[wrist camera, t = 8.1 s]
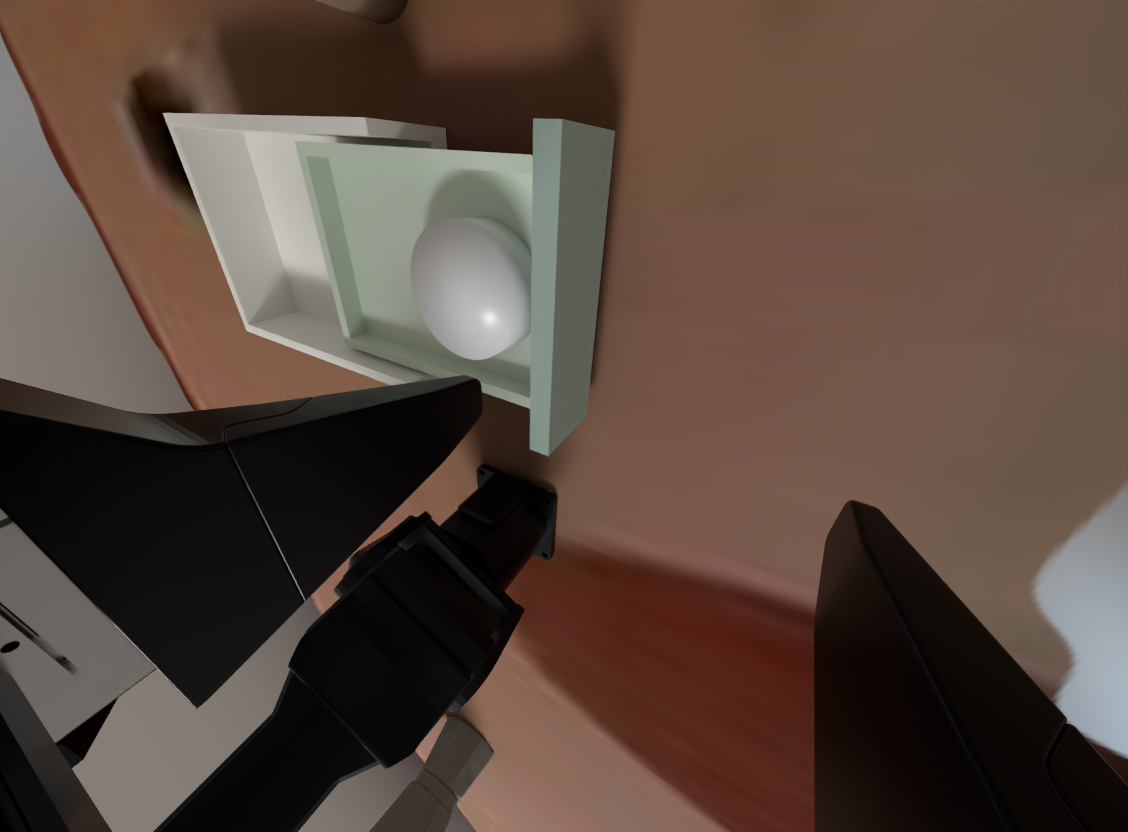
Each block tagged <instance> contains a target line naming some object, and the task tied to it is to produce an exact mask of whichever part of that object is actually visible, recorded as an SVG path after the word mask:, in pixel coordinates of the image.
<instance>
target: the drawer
mask: <svg viewBox="0 0 1128 832" xmlns="http://www.w3.org/2000/svg"><path fill="white" fill-rule="evenodd" d="M614 138H615V131H613V130H609V129H605V128H600V127H596V126H591V125H587V124H582V123H578V122H574V121H569V120H565V119H539V118H533V155H528V154H511V153H494V152H477V151H460V150H443V149H427V148H410V147H393V146H376V145H359V144H342V143H325V142H308V141H295V145H296V149H297V153H298V157H299V161H300V165H301V169H302V173H303V177H304V181H305V184H306V188H307V192H308V196H309V200H310V204H311V208H312V212H313V216H314V220H315V224H316V228H317V232H318V236H319V240H320V244H321V248H322V252H323V256H324V260H325V264H326V268H327V272H328V276H329V280H330V284H331V288H332V292H333V296H334V300H335V304H336V308H337V312H338V316H339V320H340V324H341V327H342V331H343V335H344V339H345V343H346V346H349V347H352V348H355V349H358V350H361V351H364V352H367V353H369V354H372V355H375V356H378V357H381V358H384V359H387V360H390V361H393V362H396V363H399V364H401V365H404V366H407V367H410V368H413V369H416V370H419V371H422V372H425V373H428V374H431V375H433V376H436V377H439V378H446V377H453V376H460V375H467V376H470V377H474V378H477V379H478V380H479V381H480V383H481V386H482V392H483V393H486V394H489V395H492V396H495V397H497V398H500V399H503V400H506V401H509V402H512V403H515V404H518V405H521V406H524V407H527V408H529V409H530V450H533V451H536V452H538V453H541V454H543V455H546V456H549V455H550V454H551V453H552V452H553V451H554V450H555V449H556V448H557V447H558V446H559V445H560V444H561V443H562V442H563V441H564V440H565V439H566V438H567V437H568V436H569V435H570V434H571V433H572V432H573V430H574V429H575V428H576V427H577V426H578V425H579V424H580V423H581V422H582V421H583V420H584V419H585V418H586V417H587V409H588V399H589V389H590V378H591V368H592V358H593V348H594V338H595V328H596V318H597V308H598V298H599V288H600V278H601V268H602V258H603V248H604V238H605V228H606V218H607V208H608V198H609V188H610V178H611V168H612V158H613V148H614ZM471 217H487V218H492V219H495V220H498V221H500V222H501V223H503V224H505V225H506V226H508V227H509V228H511V229H512V230H513V231H514V232H515V233H516V234H517V235H518V236H519V237H520V238H521V240H522V241H523V242H524V243H525V245H526V246H527V248H528V249H529V251H530V253H531V255H532V277H531V333H530V334H529V335H528V336H527V337H526V338H525V339H524V340H523V341H521V342H519V343H518V344H516V345H514V346H512V347H510V348H508V349H506V350H504V351H502V352H500V353H498V354H496V355H494V356H492V357H490V358H487V359H482V360H472V359H467V358H464V357H461V356H459V355H457V354H455V353H453V352H451V351H450V350H448V349H447V348H446V347H445V346H443V345H442V344H441V343H440V342H439V341H438V340H437V339H436V337H435V336H434V335H433V334H432V333H431V331H430V330H429V328H428V327H427V325H426V324H425V322H424V320H423V318H422V316H421V314H420V312H419V310H418V307H417V305H416V302H415V299H414V295H413V291H412V286H411V277H410V266H411V257H412V252H413V249H414V246H415V243H416V241H417V239H418V238H419V236H420V234H421V233H422V232H423V231H424V230H425V229H426V228H427V227H428V226H430V225H431V224H433V223H435V222H437V221H441V220H448V219H459V218H471Z"/></svg>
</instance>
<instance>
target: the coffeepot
mask: <svg viewBox="0 0 1128 832" xmlns="http://www.w3.org/2000/svg"><path fill="white" fill-rule="evenodd" d="M492 756H493V751H492V749H491V747H490V745H489V744H488V743H487V741H486V740H485V739H484V738H483V737H482V736H481V735H480V734H479V733H478V732H477V731H476V730H475V729H474V728H473V727H472V726H470V725H469V724H468V723H466V722H465V721H463V720H462V719H460V718H458V717H455V716H449V717H448V719H447V721H446V723H445V725H444V727H443V729H442V731H441V733H440V735H439V737H438V739H437V741H436V743H435V745H434V747H433V749H432V751H431V752H430V754H429V756H428V758H427V760H426V762H425V764H424V767H423V770H422V771H421V772H420V774H419V776H418V777H417V779H416V780H415V781H412V782H411V783H410V784H409V785H408V787H407V788H406V789H405V790H404V791H403V793H402V794H401V795H400V796H399V797H398V798H397V800H396V801H395V802H394V803H393V804H392V805H391V807H390V808H389V809H388V810H387V811H386V813H385V814H384V815H383V816H382V818H381V819H380V820H379V821H378V822H377V823H376V824H375V826H374V827H373V828H372V829H371V831H369V832H444V831H445V829H446V827H447V825H448V823H449V820H450V818H451V816H450V815H451V814H452V812H453V810H454V808H455V807H456V805H457V802H458V801H460V799H461V798H462V797H463V795H464V794H465V793H466V791H467V790H468V789H469V787H470V786H471V785H472V783H473V782H474V781H475V779H476V778H477V777H478V775H479V774H480V773H481V771H482V770H483V769H484V767H485V766H486V765H487V763H488V762H489V761H490V759H491V758H492Z"/></svg>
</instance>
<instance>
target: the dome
mask: <svg viewBox="0 0 1128 832" xmlns="http://www.w3.org/2000/svg"><path fill="white" fill-rule="evenodd" d="M410 277H411V286H412V291H413V295H414V299H415V302H416V305H417V307H418V310H419V312H420V314H421V316H422V318H423V320H424V322H425V324H426V325H427V327H428V328H429V330H430V331H431V333H432V334H433V335H434V336H435V337H436V339H437V340H438V341H439V342H440V343H441V344H442V345H443V346H445V347H446V348H447V349H448V350H450V351H451V352H453V353H455V354H457V355H459V356H461V357H464V358H467V359H472V360H482V359H487V358H490V357H492V356H494V355H496V354H498V353H500V352H502V351H504V350H506V349H508V348H510V347H512V346H514V345H516V344H518V343H519V342H521V341H523V340H524V339H525V338H526V337H527V336H528V335H529V334H530V333H531V277H532V255H531V253H530V251H529V249H528V248H527V246H526V245H525V243H524V242H523V241H522V240H521V238H520V237H519V236H518V235H517V234H516V233H515V232H514V231H513V230H512V229H511V228H509V227H508V226H506V225H505V224H503V223H501V222H500V221H498V220H495V219H492V218H487V217H471V218H459V219H448V220H441V221H437V222H435V223H433V224H431V225H430V226H428V227H427V228H426V229H425V230H424V231H423V232H422V233H421V234H420V236H419V238H418V239H417V241H416V243H415V246H414V249H413V252H412V257H411V266H410Z"/></svg>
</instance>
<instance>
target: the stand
mask: <svg viewBox="0 0 1128 832" xmlns="http://www.w3.org/2000/svg"><path fill="white" fill-rule="evenodd" d="M315 1H318V2H321V3H323V4H326V5H329V6H332V7H335V8H338V9H340V10H343V11H346V12H349V13H352V14H355V15H358V16H360V17H363V18H366V19H369V20H372V21H375V22H378V23H381V24H388V23H392V22H394V21H395V20H396V19H397V18H399V16H400V15H401V14H402V12H403V11H404V9H405V7H406V5H407V2H408V0H315Z"/></svg>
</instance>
